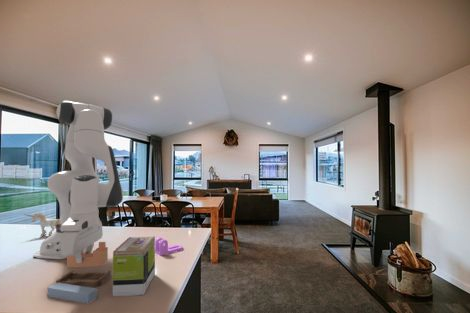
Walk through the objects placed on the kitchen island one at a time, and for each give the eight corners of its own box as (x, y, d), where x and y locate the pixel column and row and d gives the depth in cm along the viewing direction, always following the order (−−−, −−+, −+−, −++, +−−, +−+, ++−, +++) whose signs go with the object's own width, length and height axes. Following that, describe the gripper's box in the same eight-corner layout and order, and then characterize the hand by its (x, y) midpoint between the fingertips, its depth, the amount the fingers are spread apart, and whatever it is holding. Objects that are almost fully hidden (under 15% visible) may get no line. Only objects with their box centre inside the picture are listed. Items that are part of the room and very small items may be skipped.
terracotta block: (66, 267, 84) (67, 245, 84) (73, 262, 88) (73, 241, 88) (102, 265, 85) (102, 243, 85) (107, 260, 89) (107, 240, 89)
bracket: (160, 256, 111) (160, 240, 111) (155, 252, 115) (155, 238, 115) (184, 249, 120) (185, 235, 120) (179, 246, 124) (179, 233, 124)
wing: (47, 297, 76) (47, 287, 76) (58, 291, 80) (58, 282, 80) (88, 304, 72) (88, 294, 72) (97, 298, 75) (97, 288, 76)
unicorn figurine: (31, 234, 143) (32, 212, 144) (67, 233, 147) (67, 211, 147) (22, 238, 136) (23, 214, 137) (60, 236, 140) (61, 213, 140)
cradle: (55, 287, 82) (56, 281, 82) (70, 276, 89) (70, 271, 89) (100, 286, 83) (100, 280, 83) (110, 276, 90) (110, 270, 90)
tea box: (128, 275, 91) (129, 236, 91) (155, 274, 92) (156, 235, 92) (111, 297, 76) (112, 249, 76) (143, 296, 77) (144, 249, 77)
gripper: (90, 214, 97) (90, 249, 96) (56, 227, 77) (56, 271, 76) (107, 214, 97) (106, 248, 97) (77, 227, 77) (76, 270, 76)
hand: (84, 259), depth 86 cm, fingers closed on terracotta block, 4 cm apart
